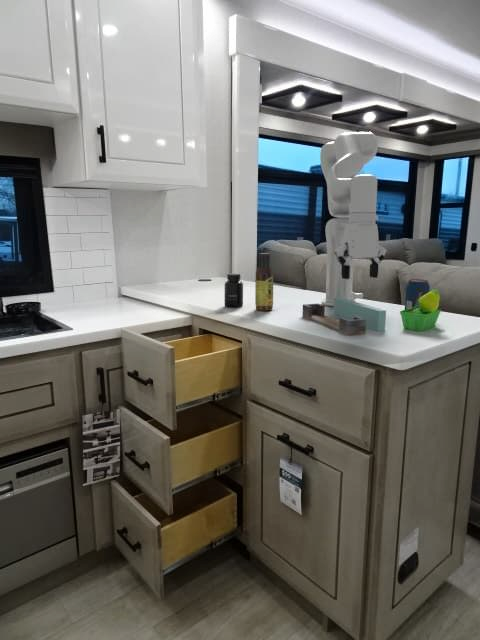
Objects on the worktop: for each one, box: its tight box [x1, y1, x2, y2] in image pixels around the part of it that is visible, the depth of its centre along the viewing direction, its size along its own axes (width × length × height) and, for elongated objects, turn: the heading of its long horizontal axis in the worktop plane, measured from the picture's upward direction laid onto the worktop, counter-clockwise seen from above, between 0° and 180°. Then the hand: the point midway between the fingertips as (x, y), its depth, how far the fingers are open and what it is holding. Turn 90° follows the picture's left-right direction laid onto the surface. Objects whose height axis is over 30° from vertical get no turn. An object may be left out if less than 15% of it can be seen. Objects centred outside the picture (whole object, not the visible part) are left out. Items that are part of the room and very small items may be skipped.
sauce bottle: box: [254, 252, 274, 312], centre depth 156 cm, size 7×6×20 cm
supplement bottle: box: [224, 273, 244, 309], centre depth 164 cm, size 7×7×12 cm
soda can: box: [404, 278, 431, 310], centre depth 142 cm, size 7×7×12 cm
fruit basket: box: [399, 289, 442, 332], centre depth 128 cm, size 11×9×11 cm
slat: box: [333, 298, 387, 332], centre depth 137 cm, size 24×2×6 cm, turn 19°
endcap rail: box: [302, 303, 367, 336], centre depth 134 cm, size 6×27×4 cm, turn 19°
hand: (359, 278), depth 134 cm, fingers open, 9 cm apart
